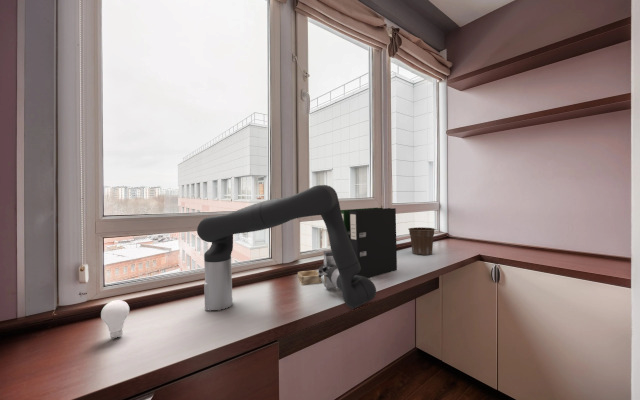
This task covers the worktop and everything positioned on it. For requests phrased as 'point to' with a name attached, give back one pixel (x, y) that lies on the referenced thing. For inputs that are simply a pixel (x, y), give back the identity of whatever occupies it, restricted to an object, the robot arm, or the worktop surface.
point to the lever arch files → (373, 239)
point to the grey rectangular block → (329, 262)
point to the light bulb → (115, 316)
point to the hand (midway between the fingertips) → (327, 266)
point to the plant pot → (422, 240)
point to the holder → (309, 277)
